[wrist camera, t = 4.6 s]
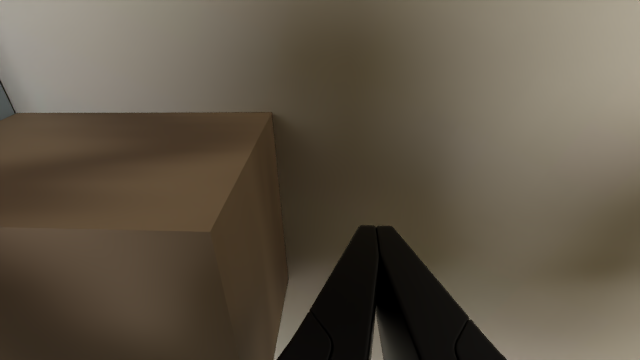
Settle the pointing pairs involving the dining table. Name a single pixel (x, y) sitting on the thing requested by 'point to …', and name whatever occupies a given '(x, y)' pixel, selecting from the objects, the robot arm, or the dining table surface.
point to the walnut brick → (140, 237)
